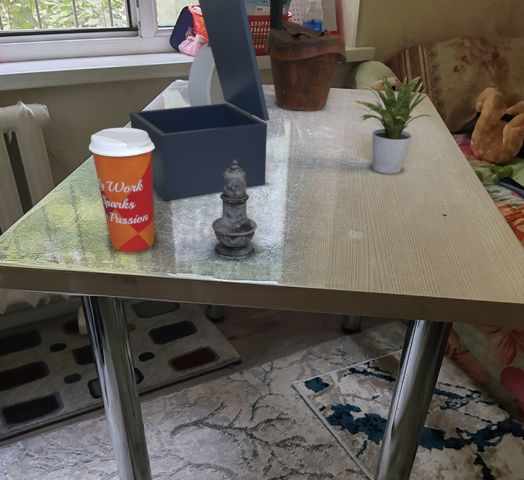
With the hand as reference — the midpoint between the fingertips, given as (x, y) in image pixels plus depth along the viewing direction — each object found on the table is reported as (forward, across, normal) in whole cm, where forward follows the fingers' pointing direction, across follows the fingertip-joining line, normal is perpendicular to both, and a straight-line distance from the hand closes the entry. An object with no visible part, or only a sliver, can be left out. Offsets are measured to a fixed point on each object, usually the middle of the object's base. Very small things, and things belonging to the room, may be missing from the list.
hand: (256, 29), depth 86 cm
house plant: (+22, +24, -8) cm, 34 cm away
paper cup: (+22, -29, -20) cm, 41 cm away
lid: (+3, -5, 0) cm, 6 cm away
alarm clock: (+22, +5, +23) cm, 33 cm away
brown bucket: (+22, +35, +39) cm, 56 cm away
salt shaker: (+22, -18, -27) cm, 39 cm away
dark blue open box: (+22, -11, 0) cm, 24 cm away
